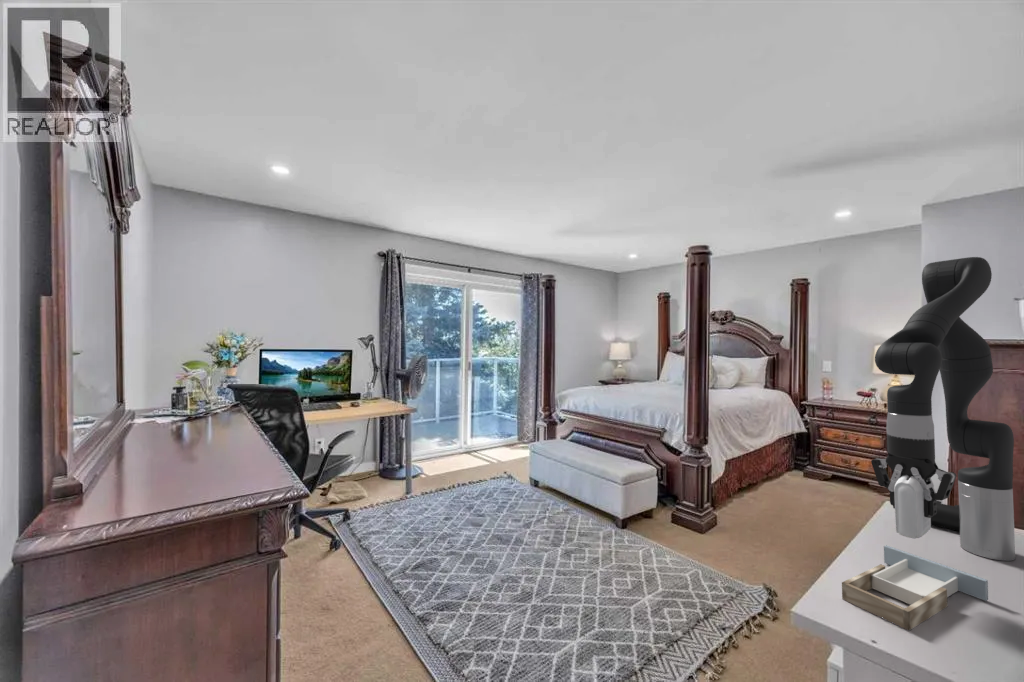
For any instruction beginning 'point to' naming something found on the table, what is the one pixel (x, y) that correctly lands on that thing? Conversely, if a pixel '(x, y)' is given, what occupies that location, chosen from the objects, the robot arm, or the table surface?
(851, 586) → the dock housing
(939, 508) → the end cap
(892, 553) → the tray
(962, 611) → the table surface
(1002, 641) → the table surface
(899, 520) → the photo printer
